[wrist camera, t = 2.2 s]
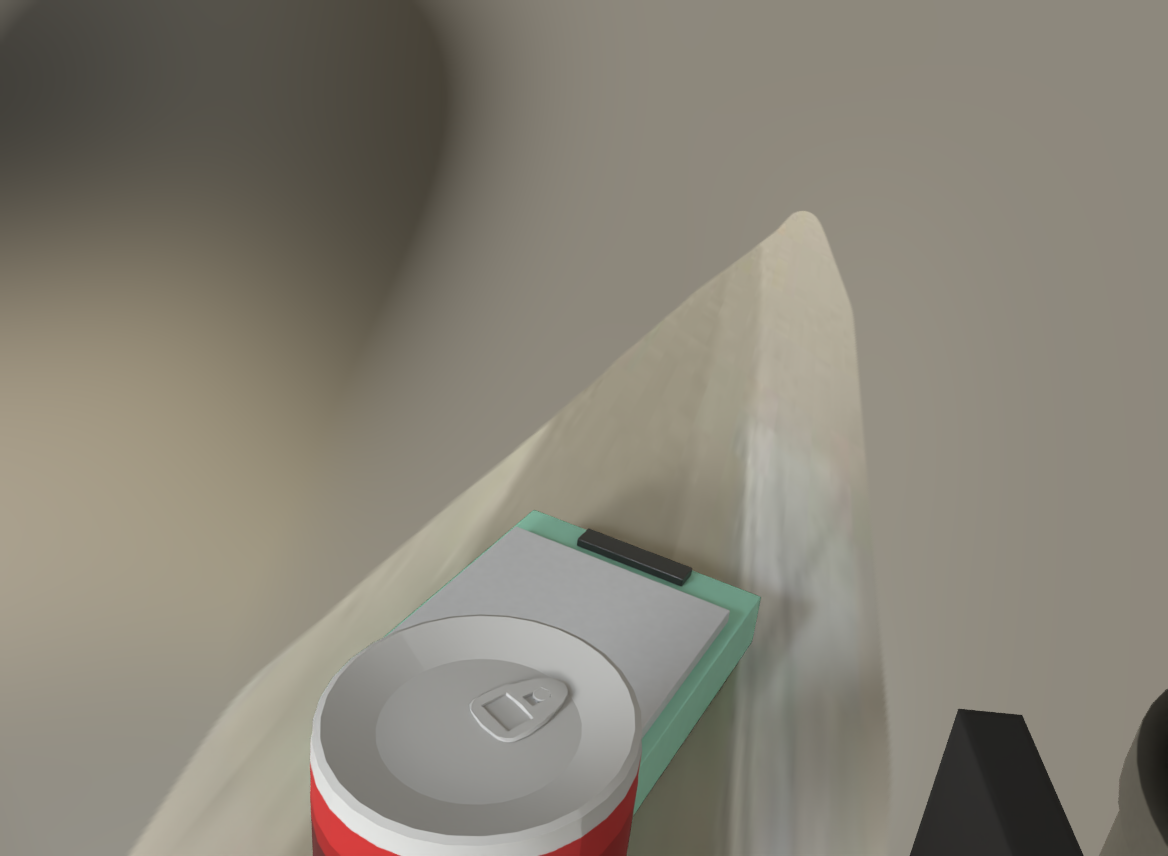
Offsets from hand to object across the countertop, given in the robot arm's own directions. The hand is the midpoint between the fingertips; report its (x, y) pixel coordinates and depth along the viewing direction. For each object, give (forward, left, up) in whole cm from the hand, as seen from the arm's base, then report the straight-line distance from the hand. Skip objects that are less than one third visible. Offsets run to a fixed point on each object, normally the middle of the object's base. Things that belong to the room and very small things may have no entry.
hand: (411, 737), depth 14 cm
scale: (+9, -22, -20) cm, 31 cm away
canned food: (+4, -9, -20) cm, 22 cm away
